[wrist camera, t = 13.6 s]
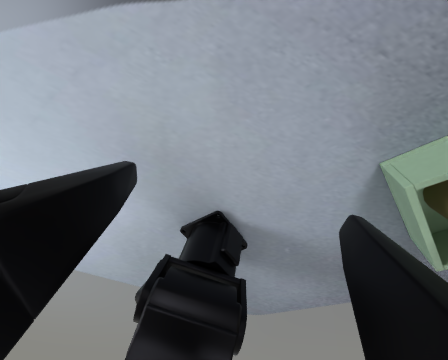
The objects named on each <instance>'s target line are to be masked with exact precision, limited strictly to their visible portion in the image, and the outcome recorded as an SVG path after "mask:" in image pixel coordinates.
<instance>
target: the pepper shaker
mask: <svg viewBox="0 0 448 360" xmlns="http://www.w3.org/2000/svg"><path fill="white" fill-rule="evenodd" d="M423 197H424V201H425V202H426V203H427V205H428V206H429V207H430V208H432V209H433V210H435V211H436V212H438V213H439V214H440V215H442V216H443V217H445V218H446V219H448V180H445V181H442V182H439V183H437V184H434V185H431V186H428V187H425V188H424V190H423Z"/></svg>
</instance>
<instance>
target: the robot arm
mask: <svg viewBox="0 0 448 360" xmlns="http://www.w3.org/2000/svg"><path fill="white" fill-rule="evenodd" d="M136 183H137V170H136V164H135V163H133V162H128V161H123V162H118V163H114V164H110V165H105V166H101V167H97V168H93V169H88V170H84V171H80V172H76V173H71V174H67V175H63V176H59V177H54V178H50V179H46V180H42V181H37V182H33V183H29V184H28V185H27V184H24V185H20V186H16V187H11V188H7V189H2V190H0V360H4V358H5V357H6V356H7V355H8V353H9V352H10V351H11V349H12V348H13V347H14V346H15V345H16V343H17V342H18V341H19V339H20V338H21V337H22V336H23V334H24V333H25V332H26V330H27V329H28V328H29V327H30V325H31V324H32V323H33V322H34V319H36V317H37V316H38V315H39V314H40V312H41V311H42V310H43V309H44V307H45V306H46V305H47V303H48V302H49V301H50V299H51V298H52V297H53V296H54V294H55V293H56V292H57V291H58V289H59V288H60V287H61V286H62V284H63V283H64V282H65V280H66V279H67V278H68V277H69V275H70V274H71V273H72V271H73V270H74V269H75V268H76V266H77V265H78V264H79V263H80V261H81V260H82V259H83V257H84V256H85V255H86V254H87V252H88V251H89V250H90V248H91V247H92V246H93V245H94V243H95V242H96V241H97V240H98V238H99V237H100V236H101V234H102V233H103V232H104V231H105V229H106V228H107V227H108V225H109V224H110V223H111V222H112V220H113V219H114V218H115V217H116V215H117V214H118V213H119V211H120V210H121V208H122V206H123V205H124V203H125V202H126V200H127V198H128V197H129V195H130V193H131V192H132V190H133V189H134V187H135V185H136ZM217 215H219V216H217ZM180 232H181V233H182V234H183V235H184V236H185V237H186V238H187V241H186V243H185V246H184V248H183V250H182V253H181V255H180V257H179V259H177V258H174V257H171V255H168V254H166V255H165V256H164V258H163V259H162V260H160V262H159V263H158V264H157V266H156V268H155V269H154V271H153V272H152V274H151V276H150V277H149V279H148V280H147V281H146V282H145V284H144V285H143V286H142V287H141V288H140V289H139V290H138V292H137V293H136V296H135V301H136V303H137V305H136V310H135V314H134V319H133V320H134V322H136V323H138V325H137V328H136V330H135V333H134V336H133V338H132V341H131V343H130V346H129V348H128V351H127V355H126V358H125V360H232V357H233V355H237V354H238V353H239V351H240V349H241V346H242V342H243V339H244V334H245V329H246V321H247V299H246V280H245V279H242V278H240V279H239V278H236V277H235V270H236V266H238V265H239V261H240V254H241V250H244V249H246V248H247V243H246V241H245V240H244V239H243V237H242V236H241V234H240V233H239V232H238V231H237V230H236V228H235V227H234V226H233V225H232V224H231V223H230V222H229V221H228V220H227V218H226V217H225V216H224V215H223V214H222V212H220V211H215V212H213V213H211V214H209V215H207V216H204V217H202V218H200V219H198V220H196V221H194V222H191V223H189V224H187V225H185V226H183V227H182V228H181V230H180ZM339 238H340V246H341V254H342V262H343V269H344V273H345V278H346V282H347V286H348V290H349V294H350V298H351V302H352V306H353V311H354V315H355V319H356V323H357V327H358V331H359V335H360V339H361V343H362V348H363V352H364V356H365V360H448V283H447V282H446V281H445V280H443V279H442V278H441V277H440V276H438V275H437V274H436V273H434V272H433V271H432V270H430V269H429V268H428V267H427V266H425V265H424V264H423V263H421V262H420V261H419V260H417V259H416V258H415V257H413V256H412V255H411V254H410V253H408V252H407V251H406V250H404V249H403V248H402V247H400V246H399V245H398V244H397V243H395V242H394V241H393V240H391V239H390V238H389V237H387V236H386V235H385V234H383V233H382V232H381V231H380V230H378V229H377V228H376V227H374V226H373V225H372V224H370V223H369V222H368V221H367V220H365V219H364V218H362V217H360V216H356V215H350V216H349V217H348V218H347V219H346V221H345V222H344V224H343V225H342V227H341V229H340V231H339Z"/></svg>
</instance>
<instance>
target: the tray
mask: <svg viewBox="0 0 448 360" xmlns="http://www.w3.org/2000/svg"><path fill="white" fill-rule="evenodd" d="M380 167H381V169H382V171H383V174H384V176H385V178H386V181H387V183H388V186H389V188H390V190H391V193H392V195H393V197H394V200H395V202H396V205H397V207H398V209H399V212H400V214H401V216H402V219H403V221H404V224H405V226H406V228H407V231H408V233H409V236H410V238H411V239H412V241H413V242H414V243H415V244H416V246H417V247H418V248H419V250H420V251H421V252H422V253H423V255H424V256H425V257H426V259H427V260H428V261H429V262H430V264H431V265H432V266H433V268H434V269H435V270H436V271H442V270H444V269H445V270H448V219H446V218H445V217H443V216H442V215H440V214H439V213H438V212H436V211H435V210H433V209H432V208H430V207H429V206H428V205H427V203H426V202H425V201H424V197H423V190H424V188H425V187H428V186H431V185H434V184H437V183H439V182H442V181H445V180H448V136H445V137H443V138H441V139H438V140H436V141H433V142H431V143H428V144H426V145H423V146H421V147H419V148H416V149H414V150H411V151H409V152H406V153H404V154H402V155H399V156H397V157H394V158H392V159H389V160H387V161H384V162H382V163H380Z"/></svg>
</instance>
